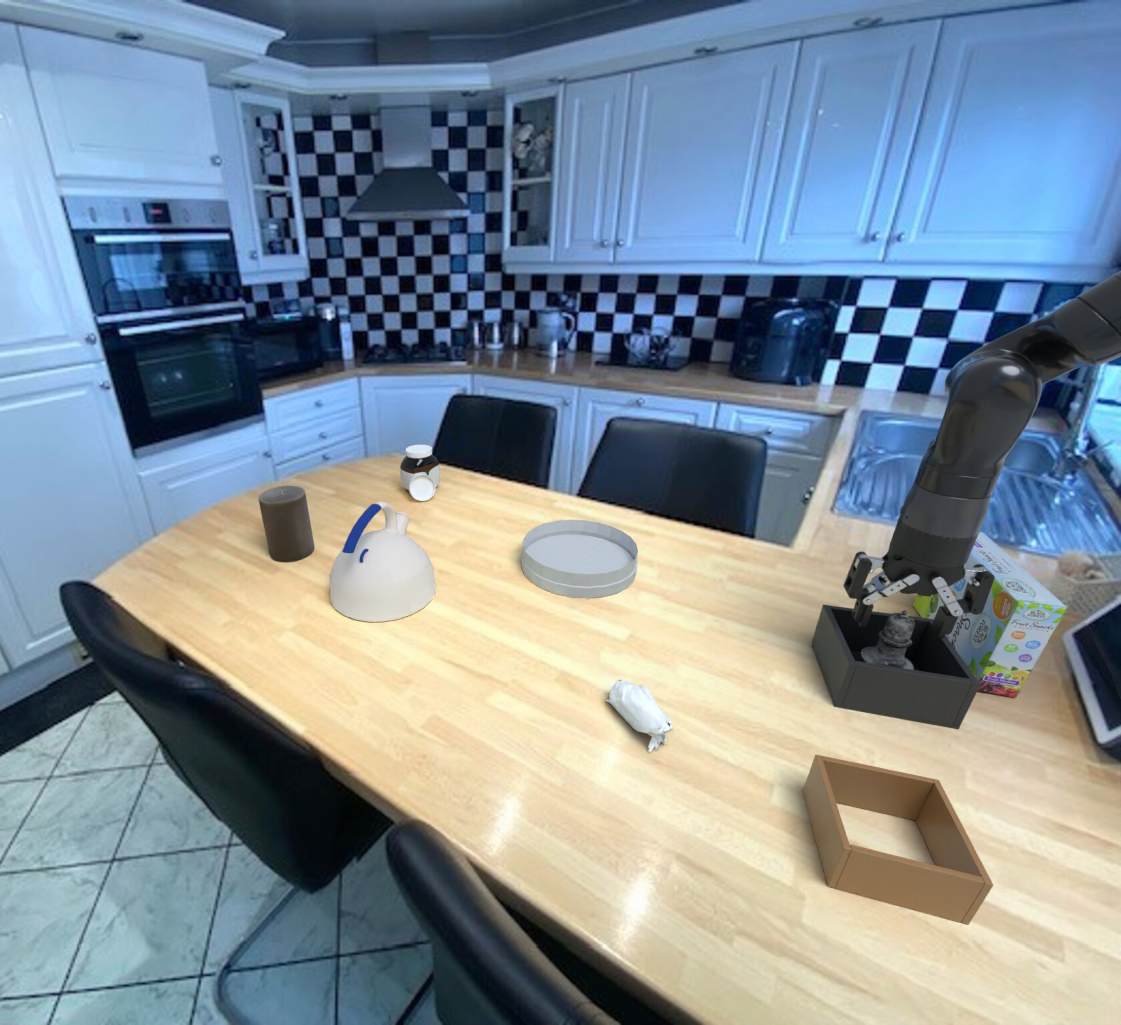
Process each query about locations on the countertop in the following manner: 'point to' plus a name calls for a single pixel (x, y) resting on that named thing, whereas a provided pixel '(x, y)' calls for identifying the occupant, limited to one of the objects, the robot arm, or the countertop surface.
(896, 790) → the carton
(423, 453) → the spread jar
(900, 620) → the dark grey chess piece
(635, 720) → the white oblong lumpy piece
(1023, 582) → the snack box
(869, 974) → the countertop surface
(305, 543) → the pillar candle
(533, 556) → the dish
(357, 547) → the kettle
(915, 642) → the open box
